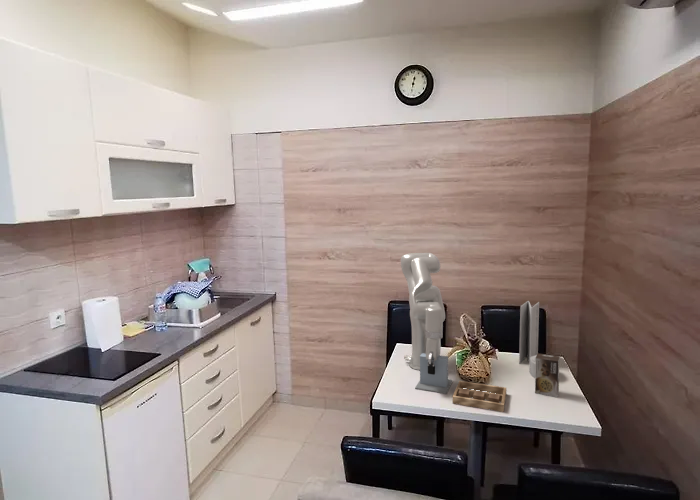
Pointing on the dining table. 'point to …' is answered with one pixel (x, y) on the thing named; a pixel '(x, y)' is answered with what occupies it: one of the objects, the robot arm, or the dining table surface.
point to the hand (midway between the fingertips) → (433, 369)
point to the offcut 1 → (464, 393)
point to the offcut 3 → (494, 398)
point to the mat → (434, 387)
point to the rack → (480, 403)
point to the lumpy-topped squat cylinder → (533, 365)
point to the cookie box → (547, 375)
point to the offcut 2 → (479, 395)
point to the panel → (440, 371)
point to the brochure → (528, 331)
